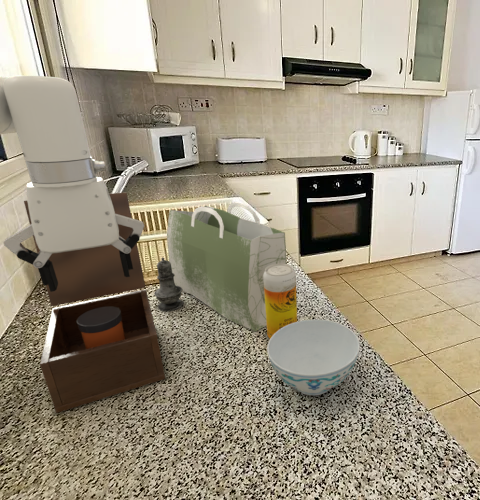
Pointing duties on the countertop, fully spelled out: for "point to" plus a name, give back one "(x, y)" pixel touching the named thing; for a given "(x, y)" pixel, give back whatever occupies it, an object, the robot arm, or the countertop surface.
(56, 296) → the chest lid
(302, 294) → the countertop surface
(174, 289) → the grey chess piece
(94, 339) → the jar
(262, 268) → the grocery bag
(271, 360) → the chinaware
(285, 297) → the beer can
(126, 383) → the chest
